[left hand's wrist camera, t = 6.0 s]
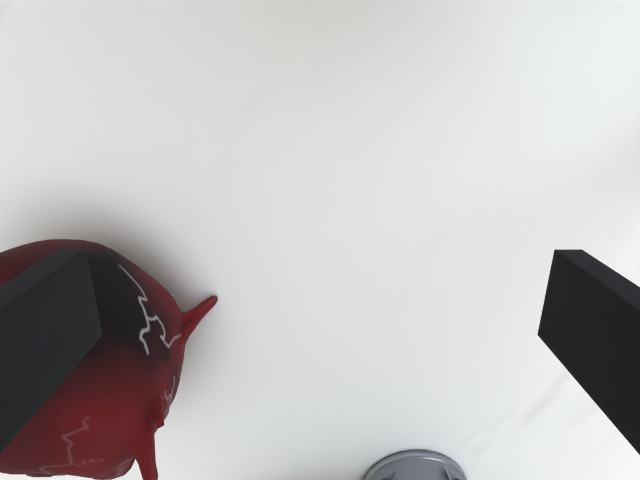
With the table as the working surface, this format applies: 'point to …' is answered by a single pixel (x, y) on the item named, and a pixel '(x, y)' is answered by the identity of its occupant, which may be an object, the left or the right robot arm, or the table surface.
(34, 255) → the decorative skull
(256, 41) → the table surface
